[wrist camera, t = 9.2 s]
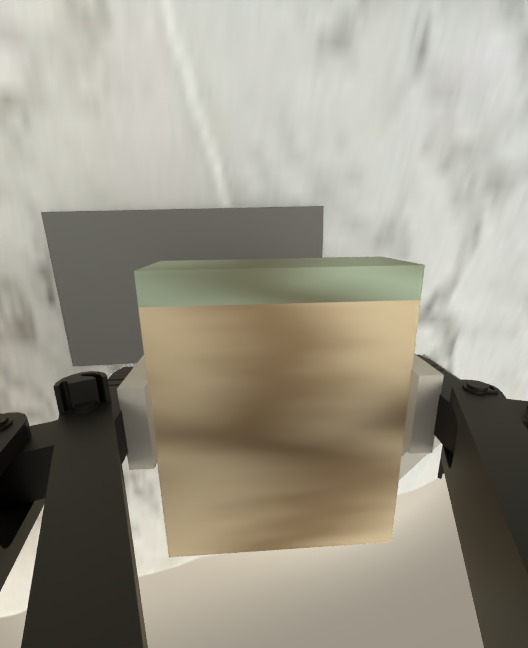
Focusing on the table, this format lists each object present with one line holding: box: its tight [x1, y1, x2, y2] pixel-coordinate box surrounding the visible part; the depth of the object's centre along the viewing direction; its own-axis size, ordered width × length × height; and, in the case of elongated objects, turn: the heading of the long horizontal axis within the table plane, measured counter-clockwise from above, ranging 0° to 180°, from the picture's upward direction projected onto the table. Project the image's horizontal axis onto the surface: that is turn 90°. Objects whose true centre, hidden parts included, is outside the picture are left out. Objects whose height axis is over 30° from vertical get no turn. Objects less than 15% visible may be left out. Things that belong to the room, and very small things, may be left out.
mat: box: [41, 206, 323, 366], centre depth 30 cm, size 24×14×1 cm, turn 91°
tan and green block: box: [134, 257, 425, 557], centre depth 12 cm, size 8×3×10 cm
